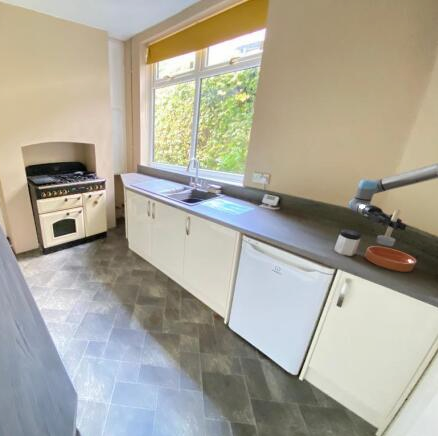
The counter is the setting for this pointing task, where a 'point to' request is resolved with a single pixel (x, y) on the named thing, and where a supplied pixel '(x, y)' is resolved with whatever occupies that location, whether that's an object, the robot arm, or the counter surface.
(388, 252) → the bowl
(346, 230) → the jar
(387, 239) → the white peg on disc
